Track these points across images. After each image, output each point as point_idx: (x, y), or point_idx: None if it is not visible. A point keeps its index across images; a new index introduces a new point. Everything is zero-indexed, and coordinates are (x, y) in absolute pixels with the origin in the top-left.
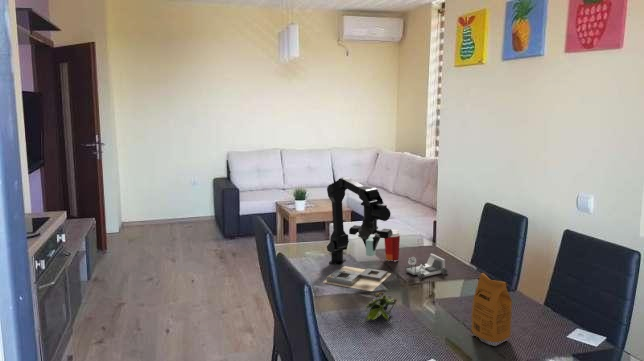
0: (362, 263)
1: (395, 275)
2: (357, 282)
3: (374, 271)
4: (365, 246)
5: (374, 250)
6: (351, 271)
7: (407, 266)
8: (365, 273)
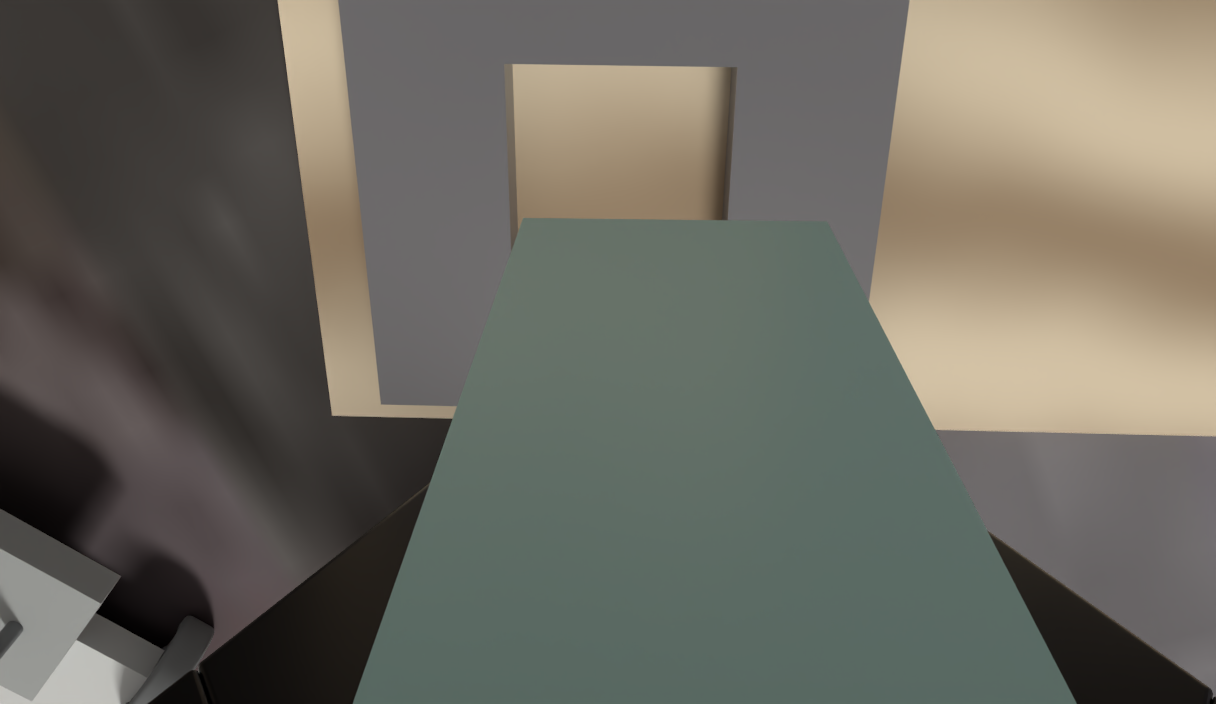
0: None
1: (272, 413)
2: None
3: None
4: (1009, 555)
5: None
6: (1179, 223)
7: (146, 699)
8: (788, 101)
